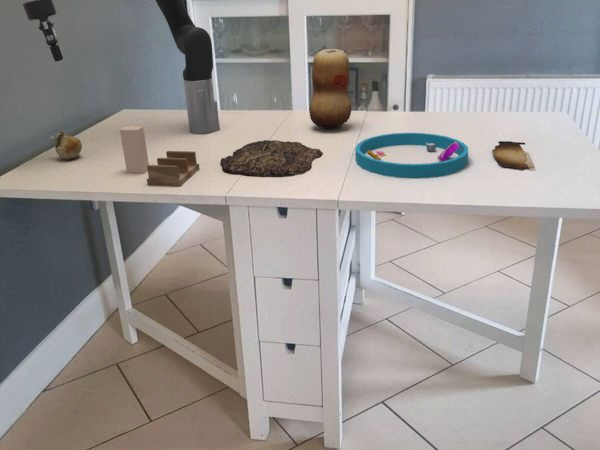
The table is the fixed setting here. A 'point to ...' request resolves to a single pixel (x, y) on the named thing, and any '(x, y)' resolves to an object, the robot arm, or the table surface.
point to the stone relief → (270, 159)
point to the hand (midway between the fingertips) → (59, 60)
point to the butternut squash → (330, 89)
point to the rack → (173, 169)
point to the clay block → (134, 149)
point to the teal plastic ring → (412, 169)
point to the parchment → (512, 155)
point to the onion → (67, 146)
